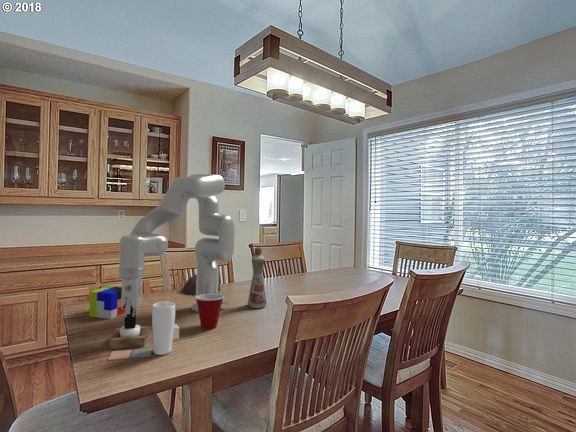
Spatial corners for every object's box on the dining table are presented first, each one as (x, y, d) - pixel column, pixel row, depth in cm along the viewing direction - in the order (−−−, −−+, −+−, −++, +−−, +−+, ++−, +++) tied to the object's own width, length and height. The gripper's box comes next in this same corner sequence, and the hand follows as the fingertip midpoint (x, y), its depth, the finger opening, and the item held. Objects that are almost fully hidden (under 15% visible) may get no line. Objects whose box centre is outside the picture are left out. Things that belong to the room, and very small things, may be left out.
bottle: (260, 302, 157) (262, 245, 156) (269, 307, 150) (272, 247, 149) (244, 304, 152) (246, 245, 152) (253, 310, 145) (255, 248, 144)
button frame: (148, 334, 113) (148, 326, 113) (144, 346, 104) (144, 337, 104) (116, 336, 111) (116, 328, 111) (109, 349, 101) (109, 340, 101)
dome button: (141, 335, 111) (141, 323, 111) (138, 342, 105) (138, 330, 105) (122, 336, 109) (122, 325, 109) (118, 344, 104) (118, 331, 103)
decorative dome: (225, 288, 182) (226, 270, 182) (211, 297, 163) (211, 277, 162) (193, 285, 186) (194, 268, 185) (175, 294, 166) (176, 275, 166)
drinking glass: (155, 347, 104) (156, 301, 104) (176, 347, 104) (178, 301, 104) (147, 356, 97) (149, 307, 97) (170, 356, 98) (172, 307, 97)
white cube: (176, 334, 115) (176, 323, 115) (178, 338, 111) (179, 327, 111) (164, 336, 113) (164, 325, 112) (166, 341, 109) (167, 329, 109)
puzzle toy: (110, 319, 127) (111, 293, 127) (89, 316, 129) (89, 291, 129) (128, 311, 137) (128, 288, 137) (107, 308, 139) (108, 285, 139)
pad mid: (152, 349, 103) (152, 348, 103) (150, 356, 97) (150, 355, 97) (133, 350, 101) (133, 349, 101) (130, 358, 96) (130, 357, 96)
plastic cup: (223, 321, 130) (224, 291, 129) (223, 331, 119) (224, 299, 119) (195, 322, 127) (196, 291, 127) (193, 332, 117) (194, 299, 117)
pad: (131, 350, 101) (131, 349, 101) (128, 358, 96) (128, 357, 96) (112, 352, 99) (112, 351, 99) (107, 360, 94) (107, 359, 94)
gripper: (140, 277, 101) (138, 335, 101) (147, 268, 115) (145, 319, 115) (113, 277, 98) (112, 337, 99) (123, 268, 113) (122, 320, 113)
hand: (130, 327), depth 107 cm, fingers closed
